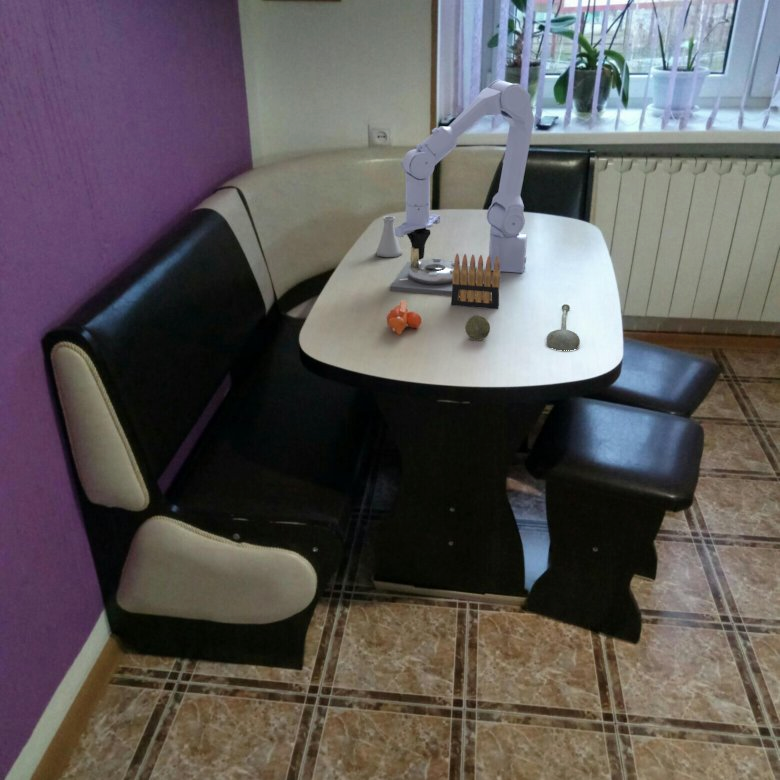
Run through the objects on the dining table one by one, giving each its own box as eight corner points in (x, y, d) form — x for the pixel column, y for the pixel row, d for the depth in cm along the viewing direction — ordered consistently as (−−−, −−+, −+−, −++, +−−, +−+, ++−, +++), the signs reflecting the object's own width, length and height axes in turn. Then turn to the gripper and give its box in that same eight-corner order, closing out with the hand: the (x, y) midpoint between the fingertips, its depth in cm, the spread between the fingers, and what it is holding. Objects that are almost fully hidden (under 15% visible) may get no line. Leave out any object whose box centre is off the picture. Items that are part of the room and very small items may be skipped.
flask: (399, 259, 193) (399, 221, 188) (373, 257, 194) (372, 220, 189) (404, 250, 199) (404, 214, 194) (379, 249, 201) (378, 213, 196)
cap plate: (476, 270, 184) (476, 266, 184) (465, 296, 169) (465, 291, 169) (407, 265, 188) (407, 261, 188) (390, 290, 173) (390, 285, 173)
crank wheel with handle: (463, 267, 183) (464, 241, 180) (459, 285, 172) (460, 258, 168) (411, 265, 185) (411, 239, 181) (405, 283, 173) (405, 256, 170)
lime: (492, 340, 148) (493, 318, 146) (471, 344, 147) (472, 321, 144) (482, 332, 152) (483, 309, 149) (461, 335, 150) (462, 313, 148)
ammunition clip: (450, 305, 165) (452, 254, 159) (452, 302, 166) (453, 251, 160) (498, 309, 162) (501, 257, 157) (499, 306, 164) (502, 254, 158)
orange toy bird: (393, 291, 157) (388, 313, 147) (426, 302, 158) (423, 325, 147) (386, 311, 160) (381, 334, 149) (418, 322, 160) (415, 346, 150)
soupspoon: (543, 355, 145) (577, 359, 143) (546, 340, 143) (580, 344, 142) (550, 309, 163) (580, 312, 162) (553, 295, 161) (583, 299, 160)
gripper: (410, 213, 165) (410, 270, 171) (450, 199, 174) (449, 254, 181) (387, 207, 169) (388, 263, 176) (427, 194, 178) (427, 248, 185)
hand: (417, 258), depth 178 cm, fingers closed, pressing on crank wheel with handle
